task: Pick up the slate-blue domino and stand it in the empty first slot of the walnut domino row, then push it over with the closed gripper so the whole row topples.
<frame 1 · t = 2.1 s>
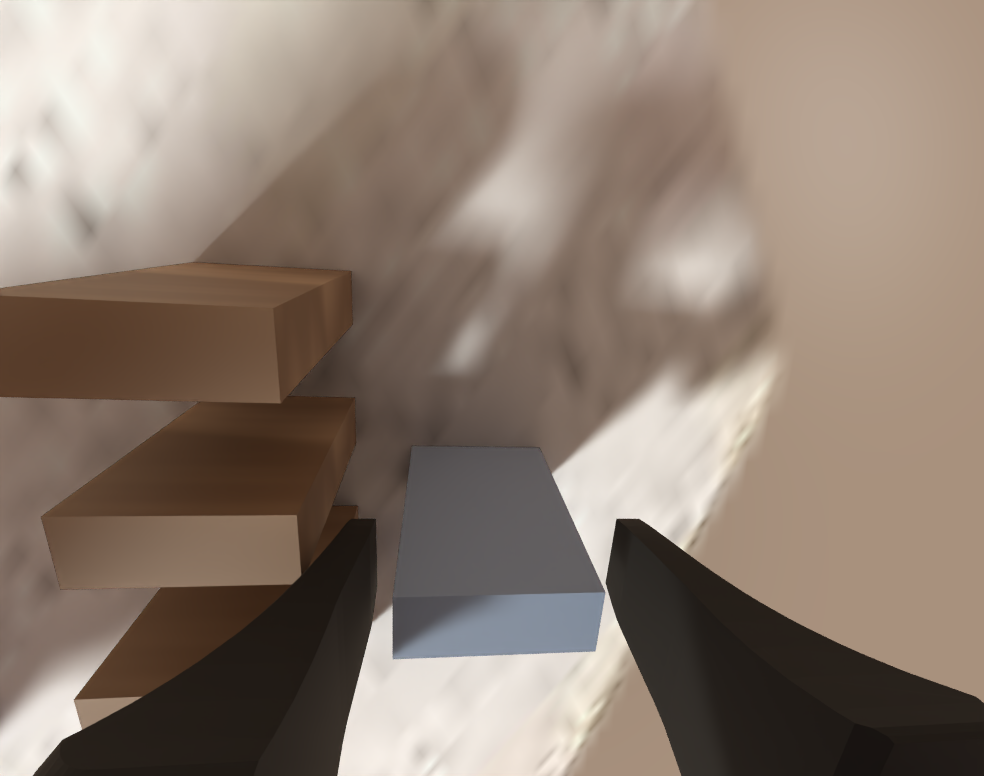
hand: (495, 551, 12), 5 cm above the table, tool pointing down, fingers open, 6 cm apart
domino 3: (293, 525, 17), on the table
domino 4: (288, 415, 16), on the table, touching gripper
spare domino: (475, 467, 17), on the table
domino 5: (275, 294, 14), on the table
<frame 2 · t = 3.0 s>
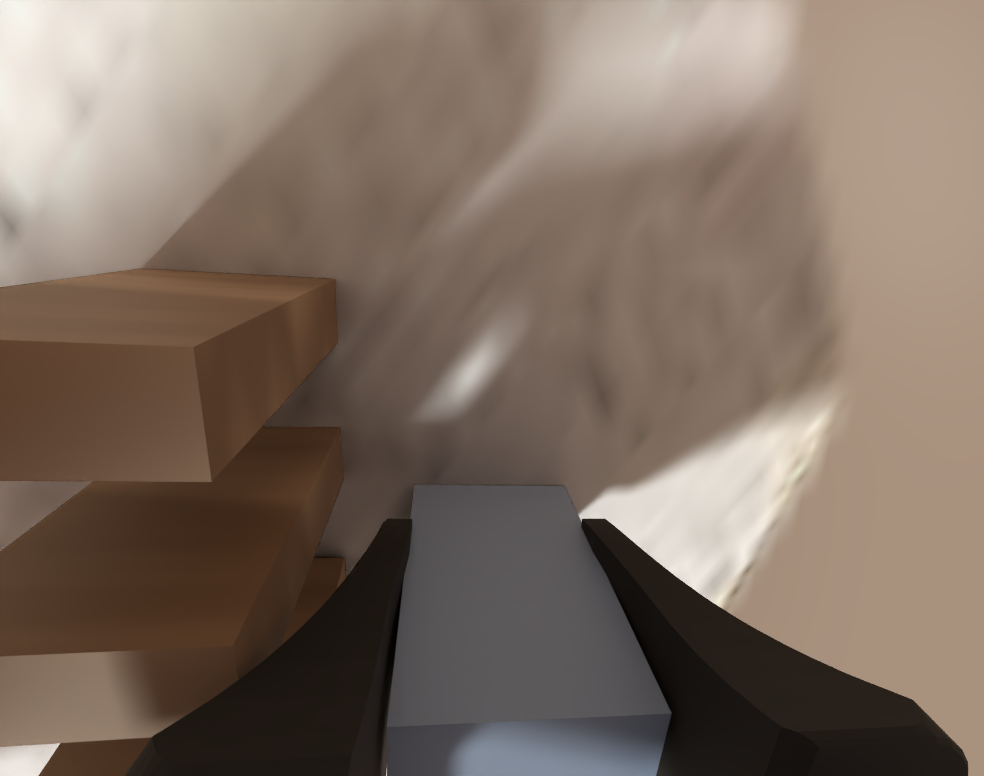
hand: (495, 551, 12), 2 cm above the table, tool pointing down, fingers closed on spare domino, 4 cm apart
domino 3: (269, 579, 14), on the table, tilted 5°, touching gripper
domino 4: (258, 453, 13), on the table, touching gripper
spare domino: (488, 509, 14), on the table, touching gripper
domino 5: (243, 307, 12), on the table
when the fingers open (3 cm above the table, at t = 7.5 s): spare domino stays where it is, on the table.
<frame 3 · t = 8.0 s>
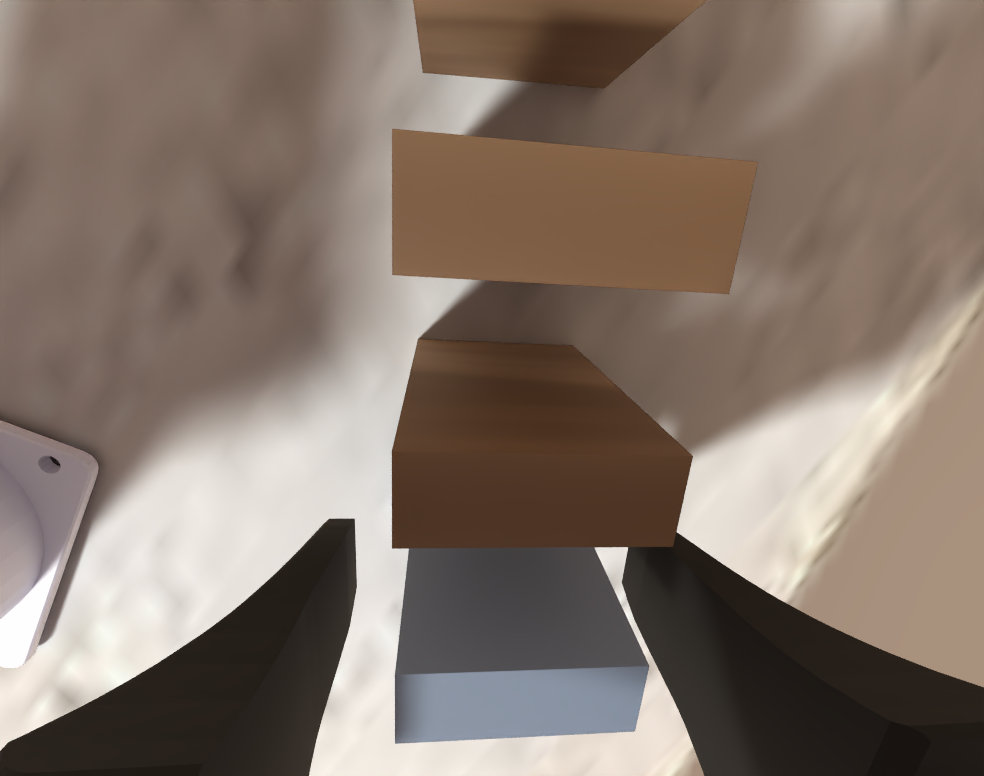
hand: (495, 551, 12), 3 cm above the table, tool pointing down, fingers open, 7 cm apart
domino 2: (494, 369, 14), on the table
domino 3: (505, 222, 12), on the table
domino 4: (517, 41, 11), on the table
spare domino: (487, 493, 15), on the table
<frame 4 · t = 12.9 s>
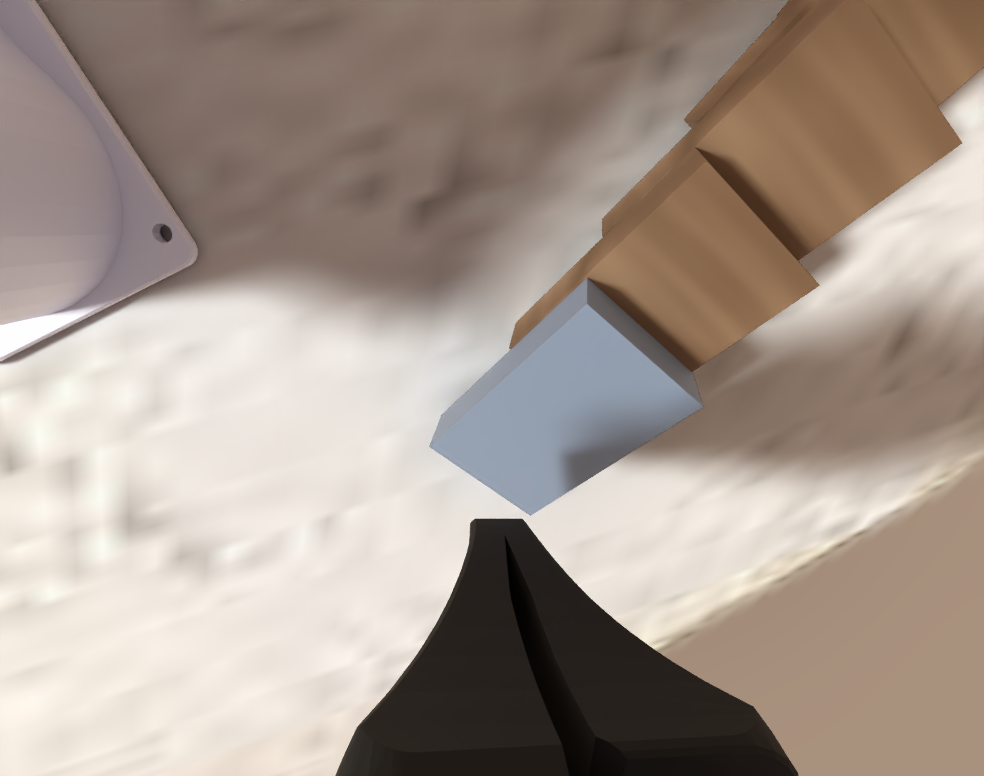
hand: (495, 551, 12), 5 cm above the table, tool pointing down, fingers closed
domino 2: (562, 375, 16), point 1 cm above the table, tilted 66°, touching domino 3, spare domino
domino 3: (651, 274, 15), point 1 cm above the table, tilted 66°, touching domino 2, domino 4
domino 4: (739, 173, 14), point 1 cm above the table, tilted 74°, touching domino 3, domino 5
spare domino: (485, 465, 17), point 1 cm above the table, tilted 67°, touching domino 2
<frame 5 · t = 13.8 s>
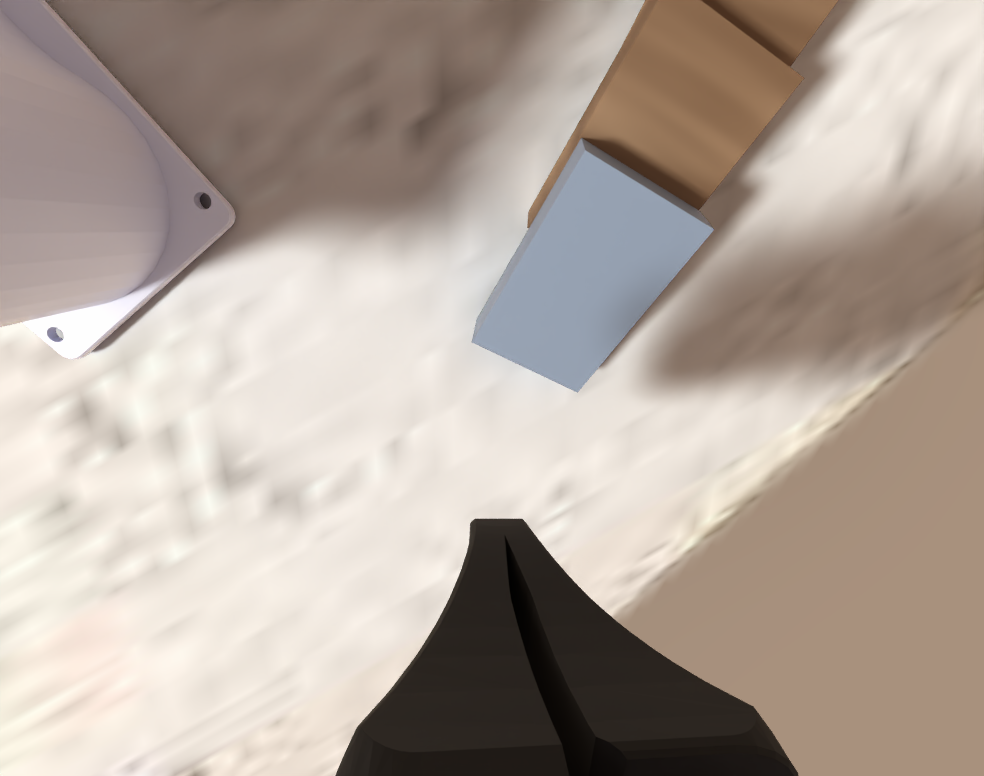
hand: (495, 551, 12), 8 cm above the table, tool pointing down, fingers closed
domino 2: (582, 249, 17), point 1 cm above the table, tilted 68°, touching domino 3, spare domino
domino 3: (659, 125, 16), point 1 cm above the table, tilted 66°, touching domino 2, domino 4
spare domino: (526, 355, 18), point 1 cm above the table, tilted 68°, touching domino 2
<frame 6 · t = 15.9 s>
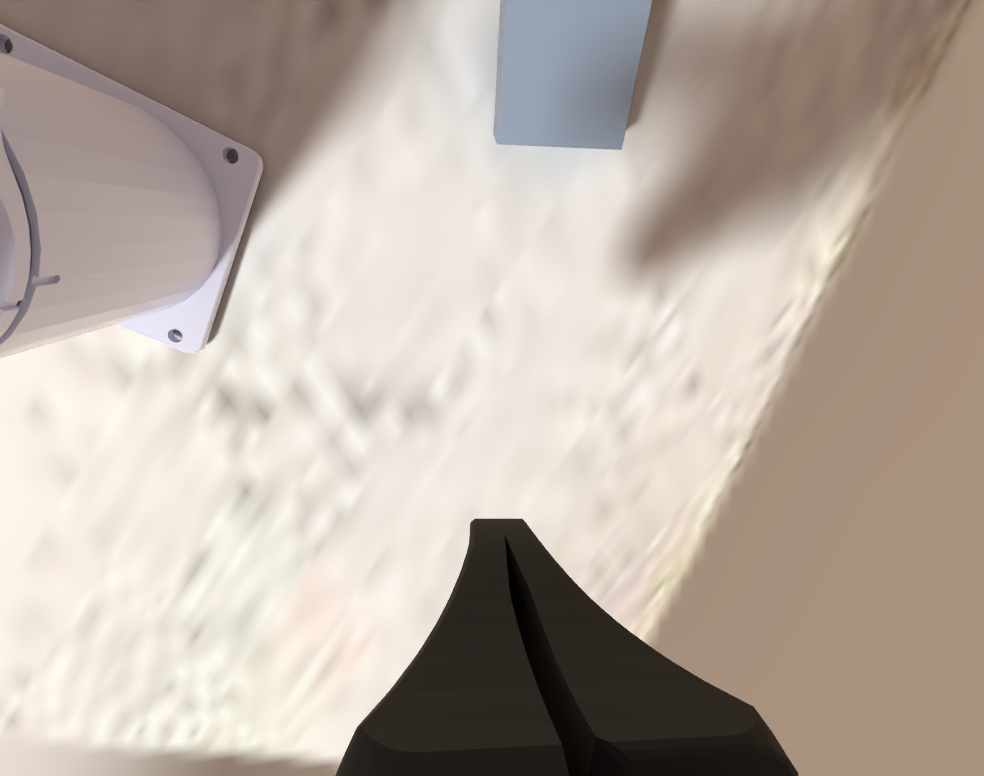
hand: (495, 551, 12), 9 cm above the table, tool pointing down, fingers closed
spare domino: (556, 141, 17), point 1 cm above the table, tilted 70°, touching domino 2
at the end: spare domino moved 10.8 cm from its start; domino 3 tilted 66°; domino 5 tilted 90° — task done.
